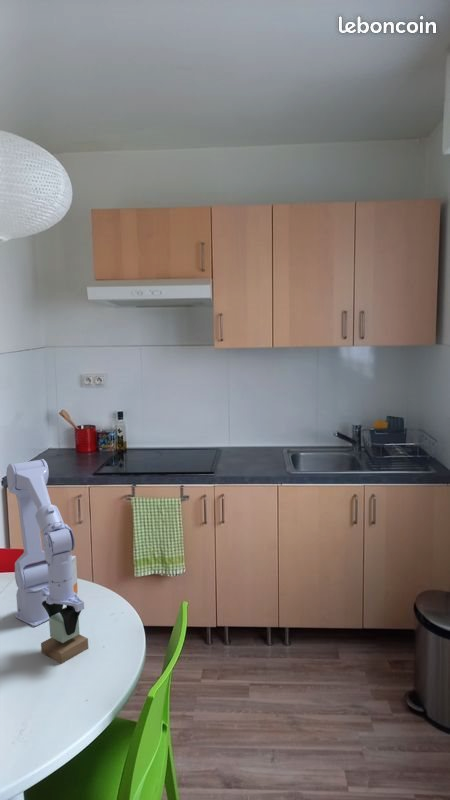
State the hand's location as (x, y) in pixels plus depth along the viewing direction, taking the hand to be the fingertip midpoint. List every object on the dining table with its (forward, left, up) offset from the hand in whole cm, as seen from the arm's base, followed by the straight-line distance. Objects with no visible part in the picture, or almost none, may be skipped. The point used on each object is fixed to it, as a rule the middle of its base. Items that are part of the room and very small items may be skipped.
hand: (63, 630), depth 139 cm
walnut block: (0, 0, -6) cm, 6 cm away
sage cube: (0, 0, -2) cm, 2 cm away
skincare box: (-23, +18, -6) cm, 30 cm away
